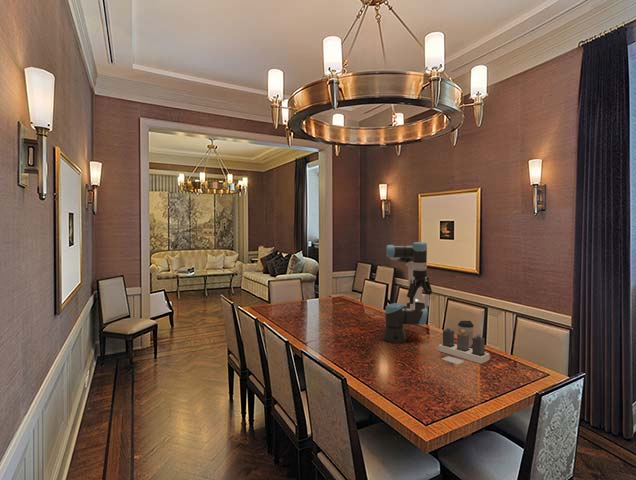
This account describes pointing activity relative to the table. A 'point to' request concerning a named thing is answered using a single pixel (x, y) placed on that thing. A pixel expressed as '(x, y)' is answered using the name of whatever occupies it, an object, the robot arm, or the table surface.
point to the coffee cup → (466, 329)
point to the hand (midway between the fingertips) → (419, 307)
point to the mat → (453, 360)
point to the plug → (463, 341)
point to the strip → (474, 354)
